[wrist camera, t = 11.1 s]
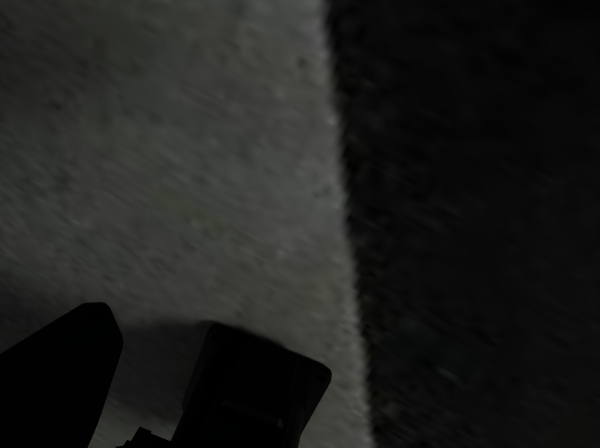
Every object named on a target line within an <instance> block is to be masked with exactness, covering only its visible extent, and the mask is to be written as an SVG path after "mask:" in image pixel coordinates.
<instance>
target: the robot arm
mask: <svg viewBox="0 0 600 448" xmlns="http://www.w3.org/2000/svg"><path fill="white" fill-rule="evenodd" d="M215 333H216V334H219V335H220V336H217V335H215ZM122 348H123V337H122V334H121V331H120V329H119V327H118V325H117V322H116V320H115V318H114V315H113V313H112V311H111V309H110V307H109V306H108V305H107V304H106V303H103V302H91V303H83V304H81V305H79V306H78V307H76V308H75V309H73V310H71V311H70V312H68V313H66V314H65V315H63V316H61V317H60V318H58V319H57V320H55V321H53V322H52V323H50V324H48V325H47V326H45V327H43V328H42V329H40V330H39V331H37V332H35V333H34V334H32V335H30V336H29V337H27V338H25V339H24V340H22V341H21V342H19V343H17V344H16V345H14V346H12V347H11V348H9V349H7V350H6V351H4V352H2V353H1V354H0V448H87V447H88V445H89V443H90V441H91V438H92V436H93V434H94V431H95V429H96V426H97V424H98V421H99V418H100V415H101V413H102V410H103V407H104V404H105V401H106V398H107V395H108V391H109V388H110V385H111V382H112V379H113V376H114V373H115V370H116V367H117V364H118V361H119V358H120V355H121V352H122ZM319 375H323V376H324V377H321V376H319ZM331 376H332V372H331V370H330V369H329V368H327V367H326V366H323V365H321V364H318V363H316V362H313V361H311V360H308V359H306V358H303V357H301V356H298V355H296V354H293V353H291V352H288V351H285V350H283V349H280V348H278V347H275V346H273V345H270V344H268V343H265V342H263V341H260V340H258V339H255V338H253V337H250V336H248V335H245V334H243V333H240V332H238V331H235V330H232V329H230V328H227V327H225V326H222V325H219V324H216V325H212V326H211V327H210V329H209V331H208V333H207V335H206V338H205V341H204V344H203V346H202V349H201V352H200V355H199V358H198V360H197V363H196V366H195V369H194V371H193V374H192V377H191V380H190V382H189V385H188V388H187V391H186V394H185V396H184V399H183V402H182V409H183V410H184V412H183V415H182V417H181V419H180V421H179V423H178V426H177V428H176V430H175V432H174V434H173V437H172V439H171V441H169V440H166V439H164V438H161V437H159V436H156V435H154V434H151V431H150V430H147V429H145V428H142V427H139V428H138V430H137V432H136V433H135V435H134V437H133V438H132V440H131V441H128V440H127V441H126V442H125V444H124V445H123V446H118V447H116V448H298V445H299V441H300V436H301V433H302V432H303V430H304V428H305V426H306V425H307V423H308V421H309V419H310V417H311V416H312V414H313V412H314V410H315V409H316V407H317V405H318V403H319V402H320V400H321V398H322V396H323V394H324V393H325V391H326V389H327V387H328V386H329V384H330V381H331Z"/></svg>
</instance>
